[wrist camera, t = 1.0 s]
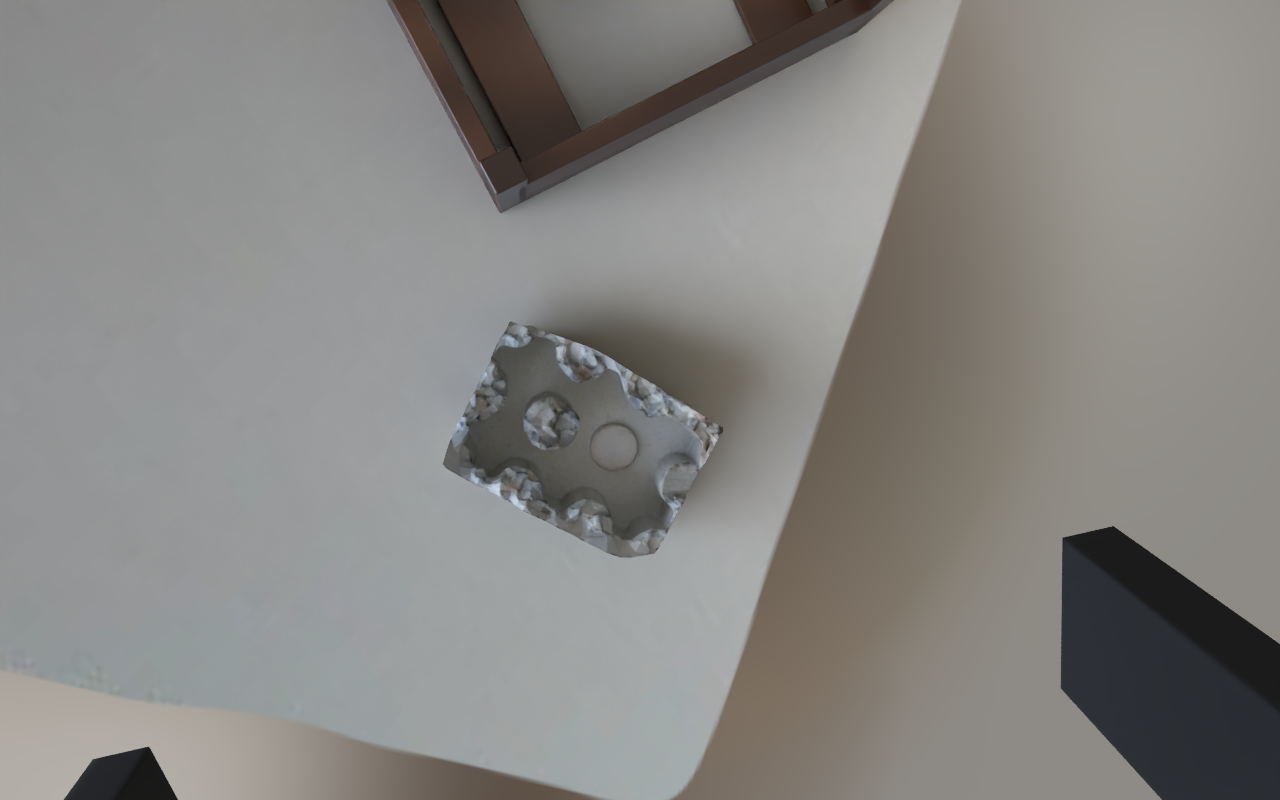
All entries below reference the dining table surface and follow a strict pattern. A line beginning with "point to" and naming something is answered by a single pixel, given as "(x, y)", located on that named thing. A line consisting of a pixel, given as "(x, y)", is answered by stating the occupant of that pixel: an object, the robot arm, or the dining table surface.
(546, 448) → the egg carton
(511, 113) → the crate
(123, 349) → the dining table surface
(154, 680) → the dining table surface
